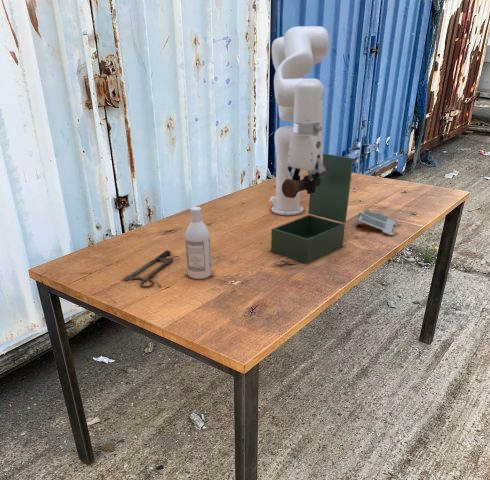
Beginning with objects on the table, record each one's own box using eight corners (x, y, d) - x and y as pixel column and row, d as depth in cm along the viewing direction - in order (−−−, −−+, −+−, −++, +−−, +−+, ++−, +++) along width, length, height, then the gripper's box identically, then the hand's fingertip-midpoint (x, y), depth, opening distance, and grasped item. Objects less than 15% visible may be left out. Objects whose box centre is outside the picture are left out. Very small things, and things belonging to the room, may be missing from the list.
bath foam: (199, 267, 152) (195, 202, 142) (216, 273, 148) (213, 207, 138) (183, 275, 148) (177, 208, 138) (199, 281, 144) (195, 213, 134)
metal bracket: (357, 216, 174) (362, 204, 186) (350, 231, 177) (356, 218, 190) (396, 231, 172) (399, 218, 184) (389, 246, 175) (393, 232, 188)
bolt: (318, 193, 160) (289, 202, 151) (307, 182, 162) (278, 191, 152) (327, 178, 156) (298, 186, 147) (316, 168, 158) (287, 175, 148)
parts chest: (306, 264, 154) (308, 239, 150) (271, 251, 163) (271, 228, 159) (342, 247, 166) (344, 224, 162) (307, 236, 174) (308, 214, 171)
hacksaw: (166, 253, 163) (166, 248, 162) (194, 258, 159) (193, 253, 158) (119, 282, 144) (118, 277, 144) (148, 288, 140) (148, 284, 140)
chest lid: (352, 158, 152) (361, 156, 155) (313, 152, 161) (323, 150, 164) (344, 223, 161) (353, 220, 165) (308, 213, 170) (317, 210, 173)
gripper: (338, 130, 143) (333, 194, 152) (291, 124, 153) (289, 183, 163) (322, 134, 138) (318, 199, 148) (275, 127, 149) (274, 188, 158)
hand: (303, 190), depth 155 cm, fingers closed on bolt, 5 cm apart
